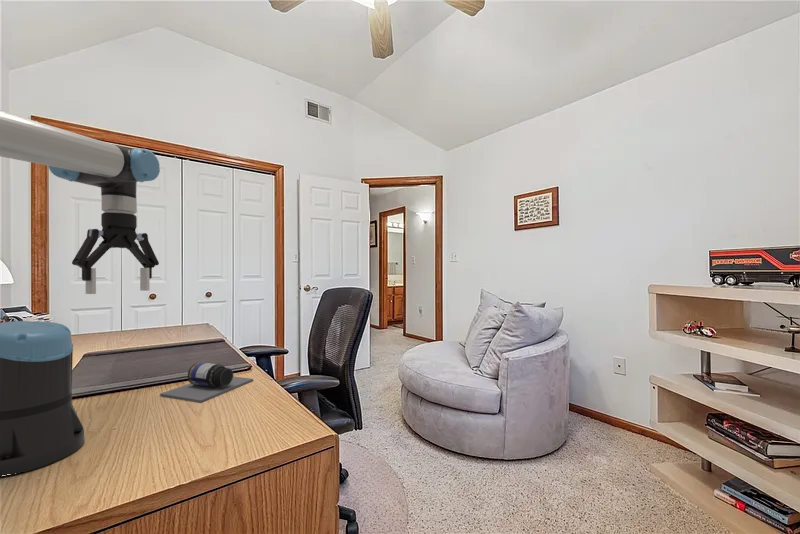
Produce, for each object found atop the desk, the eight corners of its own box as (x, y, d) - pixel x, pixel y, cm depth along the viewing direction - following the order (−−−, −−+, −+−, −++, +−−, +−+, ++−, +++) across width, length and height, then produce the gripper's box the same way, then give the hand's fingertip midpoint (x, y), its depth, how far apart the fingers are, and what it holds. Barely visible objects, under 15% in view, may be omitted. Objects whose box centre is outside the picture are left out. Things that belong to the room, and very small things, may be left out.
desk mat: (200, 402, 89) (200, 400, 89) (160, 396, 94) (160, 393, 94) (253, 380, 106) (253, 378, 106) (216, 376, 110) (216, 374, 110)
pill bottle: (207, 376, 105) (237, 381, 101) (189, 388, 99) (220, 393, 96) (202, 357, 103) (233, 361, 100) (184, 368, 98) (215, 373, 94)
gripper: (154, 219, 110) (154, 288, 110) (53, 207, 87) (53, 295, 87) (172, 218, 108) (172, 289, 108) (73, 205, 84) (73, 296, 84)
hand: (119, 292), depth 97 cm, fingers open, 13 cm apart
